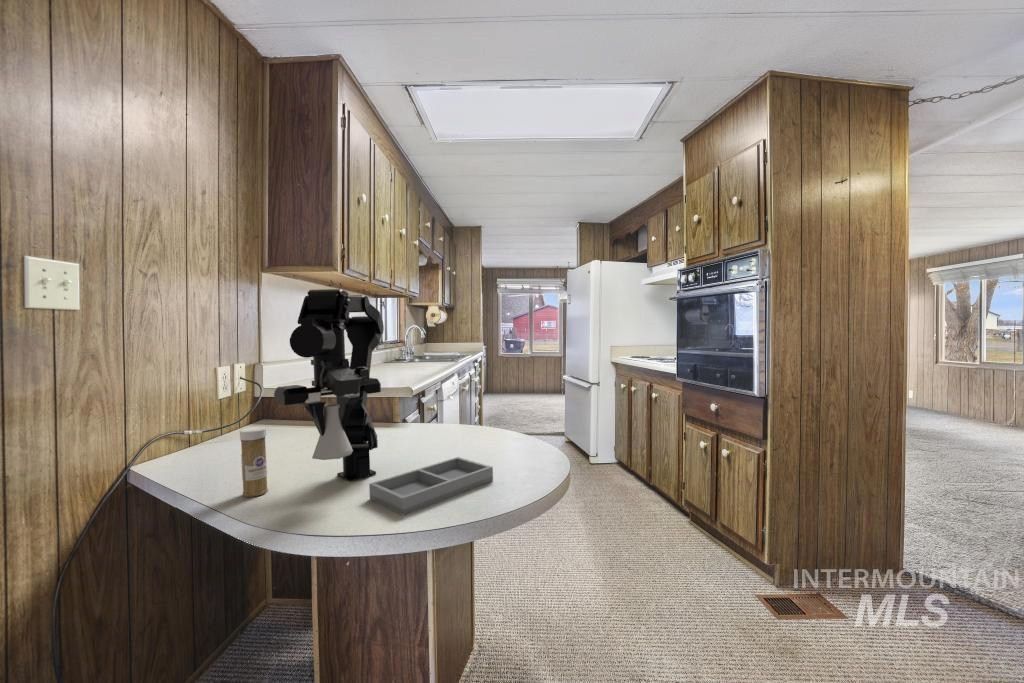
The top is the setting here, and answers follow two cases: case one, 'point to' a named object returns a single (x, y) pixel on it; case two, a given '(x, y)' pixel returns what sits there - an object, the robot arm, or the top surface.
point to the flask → (332, 436)
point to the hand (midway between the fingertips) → (332, 434)
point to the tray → (429, 484)
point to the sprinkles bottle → (254, 461)
